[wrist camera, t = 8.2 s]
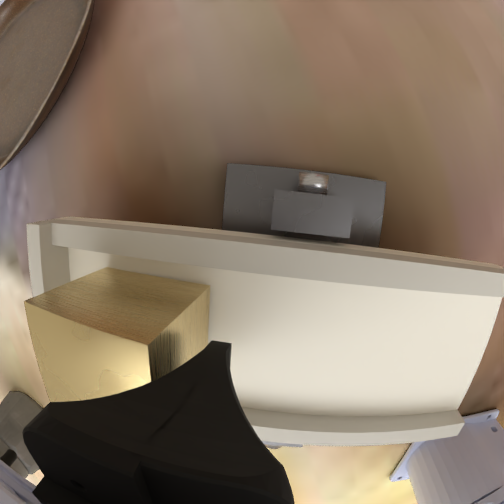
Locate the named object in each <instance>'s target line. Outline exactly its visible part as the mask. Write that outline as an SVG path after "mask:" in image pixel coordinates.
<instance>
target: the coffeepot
mask: <svg viewBox="0 0 504 504" xmlns="http://www.w3.org/2000/svg"><path fill="white" fill-rule="evenodd" d="M42 410H43V408H42V407H41V406H39V405H38V404H37V403H36V402H35V401H34V400H33V399H32V398H30V397H29V396H27V395H26V394H24V393H22V392H19V391H15V392H12V391H10V392H9V393H8V395H7V396H6V397H5V398H4V400H3V401H2V402H1V404H0V460H1V461H3V462H4V463H5V464H6V465H8V466H9V467H10V468H11V469H13V470H14V471H15V472H17V473H18V474H19V475H21V476H22V477H24V478H26V477H27V476H28V474H33V473H35V472H36V471H37V470H39V469H40V468H39V467H38V465H37V464H36V462H35V461H34V459H33V457H32V456H31V454H30V453H29V451H28V449H27V447H26V445H25V443H24V439H23V434H22V432H23V429H24V427H25V426H26V425H27V424H28V423H29V422H30V421H31V420H32V419H33V418H34V417H35V416H36V415H38V414H39V413H40V412H41V411H42Z"/></svg>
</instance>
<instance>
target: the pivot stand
mask: <svg viewBox="0 0 504 504" xmlns="http://www.w3.org/2000/svg"><path fill="white" fill-rule="evenodd" d="M385 191H386V182H383V181H378V180H372V179H366V178H360V177H353V176H347V175H340V174H333V173H325V172H317V171H309V170H301V169H292V168H282V167H271V166H260V165H247V164H232V163H227V174H226V186H225V198H224V210H223V223H222V230H227V231H237V232H247V233H256V234H265V235H275V236H284V237H292V238H301V239H310V240H319V241H327V242H335V243H344V244H352V245H360V246H368V247H376V248H378V247H379V241H380V234H381V226H382V219H383V210H384V201H385ZM262 442H263V444H264V445H265V446H266V447H268V448H271V449H277V448H280V447H282V446H290V447H302V446H303V445H300V444H287V443H277V442H268V441H262Z"/></svg>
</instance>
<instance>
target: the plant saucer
mask: <svg viewBox="0 0 504 504" xmlns="http://www.w3.org/2000/svg"><path fill="white" fill-rule="evenodd" d="M93 6H94V0H5V1H4V2H3V3H2V4H1V6H0V170H1V169H2V168H3V167H5V166H6V165H7V164H8V163H9V162H10V161H11V160H12V159H13V158H14V157H15V156H16V155H17V154H18V153H19V152H20V151H21V149H22V148H23V147H24V146H25V145H26V144H27V142H28V141H29V140H30V139H31V137H32V136H33V135H34V134H35V132H36V131H37V130H38V128H39V127H40V125H41V124H42V122H43V121H44V120H45V118H46V117H47V115H48V114H49V112H50V110H51V109H52V107H53V106H54V104H55V102H56V101H57V99H58V97H59V96H60V94H61V92H62V90H63V88H64V86H65V85H66V83H67V81H68V79H69V77H70V75H71V73H72V71H73V68H74V66H75V64H76V62H77V59H78V57H79V55H80V52H81V50H82V47H83V44H84V42H85V39H86V36H87V32H88V29H89V25H90V21H91V17H92V12H93Z"/></svg>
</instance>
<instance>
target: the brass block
mask: <svg viewBox="0 0 504 504" xmlns="http://www.w3.org/2000/svg"><path fill="white" fill-rule="evenodd" d="M24 304H25V310H26V315H27V320H28V325H29V330H30V335H31V339H32V343H33V347H34V351H35V355H36V359H37V362H38V366H39V369H40V372H41V376H42V379H43V382H44V385H45V388H46V391H47V394H48V397H49V400H50V402H65V401H80V400H88V399H94V398H100V397H105V396H110V395H114V394H118V393H121V392H124V391H127V390H130V389H134V388H137V387H140V386H142V385H145V384H147V383H149V382H152V381H154V380H156V379H158V378H160V377H162V376H164V375H166V374H168V373H169V372H171V371H173V370H174V369H176V368H178V367H179V366H181V365H182V364H184V363H185V362H187V361H188V360H190V359H191V358H192V357H194V356H195V355H197V354H198V353H199V352H201V351H202V350H203V349H204V348H205V347H206V346H207V345H208V327H209V304H210V285H205V284H198V283H192V282H186V281H180V280H175V279H169V278H163V277H158V276H152V275H146V274H141V273H136V272H130V271H125V270H120V269H115V268H110V267H105V268H103V269H100V270H98V271H95V272H93V273H90V274H88V275H85V276H83V277H80V278H78V279H76V280H73V281H71V282H68V283H66V284H63V285H61V286H59V287H56V288H54V289H51V290H49V291H47V292H44V293H42V294H40V295H37V296H35V297H33V298H30V299H28V300H26V301H24Z"/></svg>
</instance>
